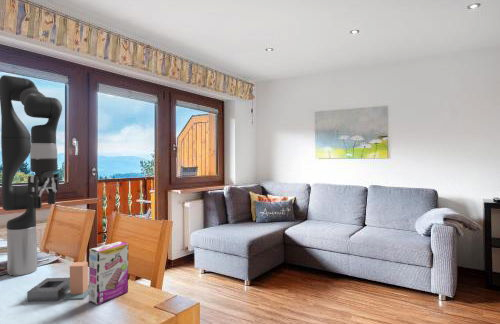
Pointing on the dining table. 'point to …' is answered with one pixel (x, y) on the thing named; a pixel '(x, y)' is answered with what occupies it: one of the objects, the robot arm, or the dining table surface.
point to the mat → (77, 295)
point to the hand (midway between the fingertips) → (44, 206)
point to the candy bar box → (108, 272)
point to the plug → (78, 277)
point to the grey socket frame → (49, 290)
